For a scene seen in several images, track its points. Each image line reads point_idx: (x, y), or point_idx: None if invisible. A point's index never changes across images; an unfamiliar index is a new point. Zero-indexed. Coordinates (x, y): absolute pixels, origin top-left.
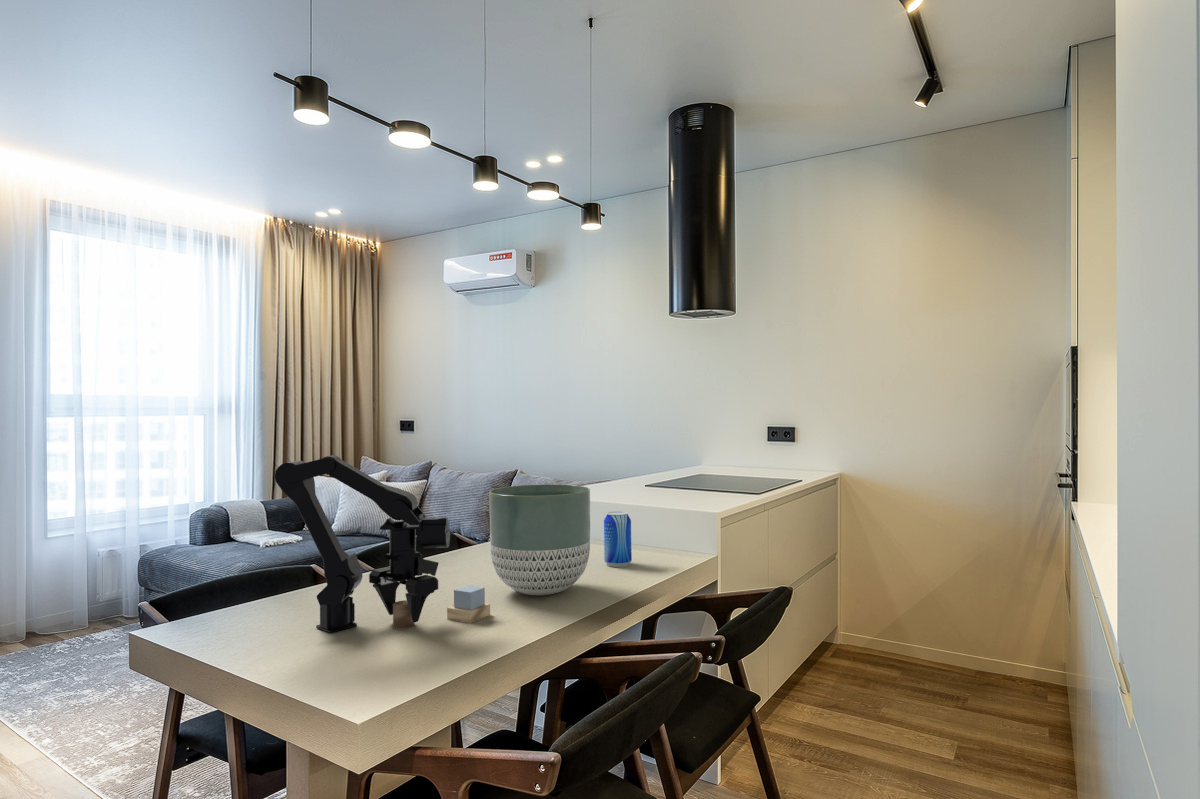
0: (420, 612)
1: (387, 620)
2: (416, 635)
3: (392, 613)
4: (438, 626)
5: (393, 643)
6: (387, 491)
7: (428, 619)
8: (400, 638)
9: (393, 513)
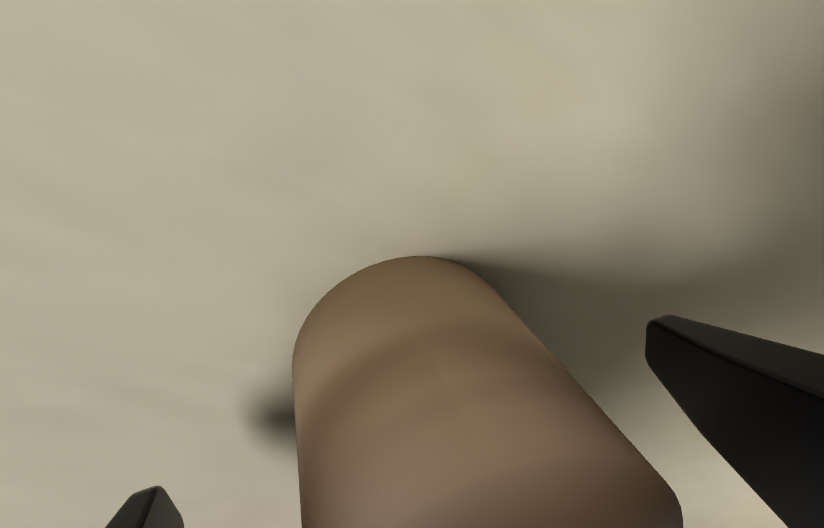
0: (793, 355)
1: (91, 463)
2: None
3: (165, 510)
4: (716, 68)
5: (718, 484)
6: None
7: (382, 28)
8: (682, 439)
9: None
